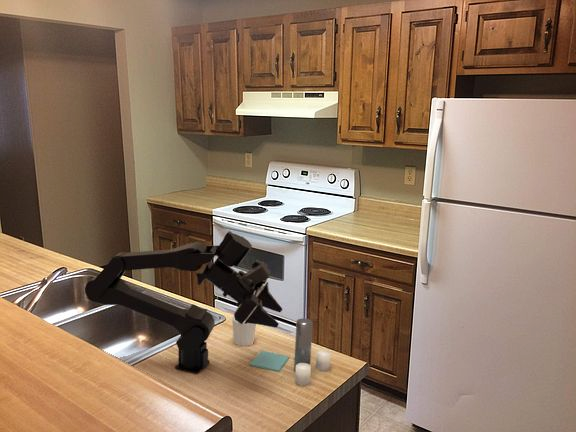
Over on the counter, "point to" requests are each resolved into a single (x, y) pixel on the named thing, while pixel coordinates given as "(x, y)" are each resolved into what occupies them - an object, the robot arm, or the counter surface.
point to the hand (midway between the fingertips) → (279, 318)
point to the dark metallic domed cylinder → (303, 341)
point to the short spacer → (302, 374)
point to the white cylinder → (243, 332)
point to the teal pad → (269, 361)
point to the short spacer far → (323, 360)
